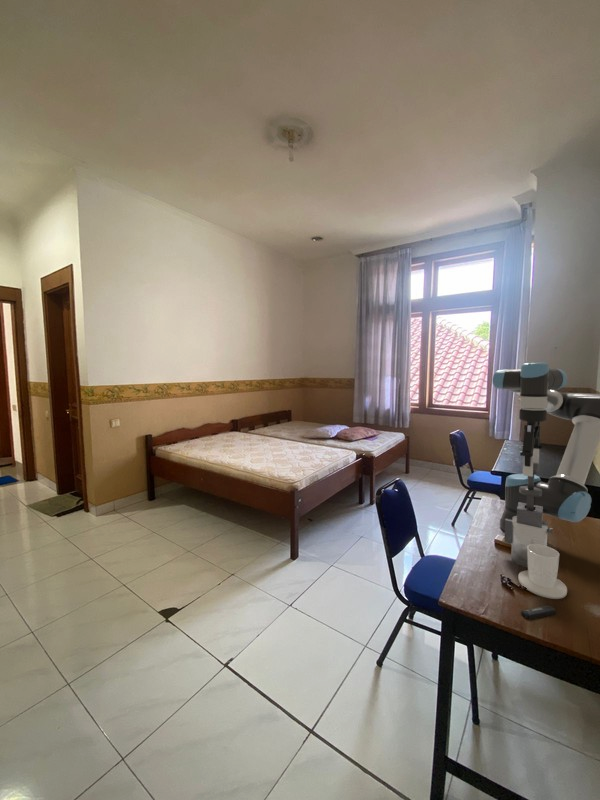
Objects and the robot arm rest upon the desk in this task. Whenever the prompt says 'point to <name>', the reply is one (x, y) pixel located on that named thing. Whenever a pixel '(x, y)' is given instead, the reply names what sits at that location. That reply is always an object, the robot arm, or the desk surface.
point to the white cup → (542, 565)
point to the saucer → (552, 593)
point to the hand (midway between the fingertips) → (530, 471)
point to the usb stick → (538, 612)
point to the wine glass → (531, 489)
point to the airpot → (525, 531)
